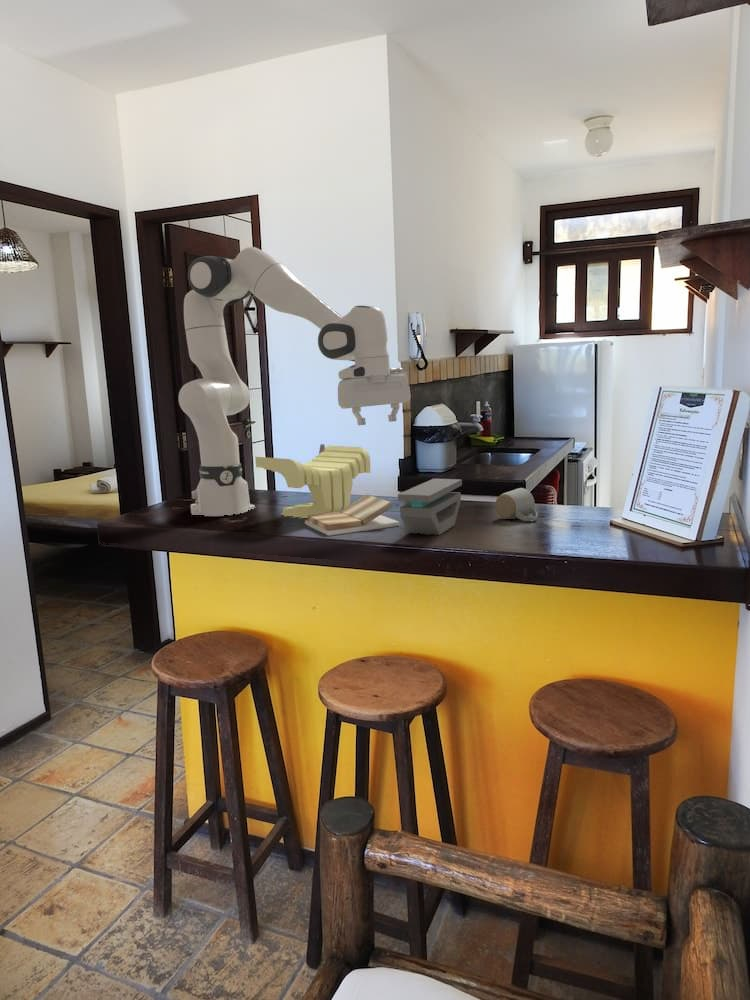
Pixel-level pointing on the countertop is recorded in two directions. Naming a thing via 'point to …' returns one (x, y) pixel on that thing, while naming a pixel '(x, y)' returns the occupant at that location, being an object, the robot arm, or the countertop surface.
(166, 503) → the countertop surface
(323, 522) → the oak plank
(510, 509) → the ceramic mug
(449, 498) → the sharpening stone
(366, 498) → the ash plank
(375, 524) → the underlay board
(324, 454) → the yellow ribbed sculpture
